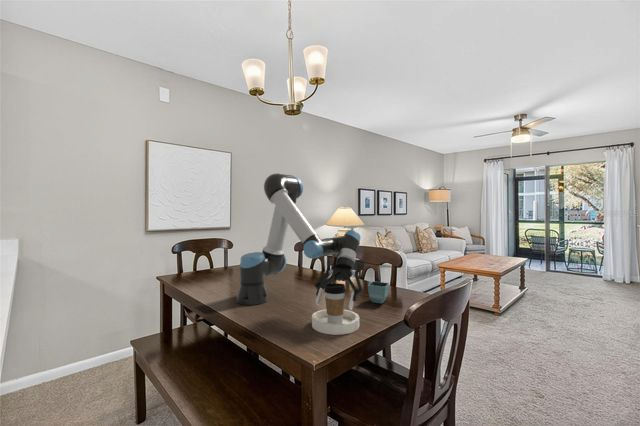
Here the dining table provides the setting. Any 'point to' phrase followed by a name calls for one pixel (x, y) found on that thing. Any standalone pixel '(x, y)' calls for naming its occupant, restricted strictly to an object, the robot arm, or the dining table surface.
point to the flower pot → (378, 291)
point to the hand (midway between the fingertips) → (333, 306)
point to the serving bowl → (348, 325)
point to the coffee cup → (335, 302)
